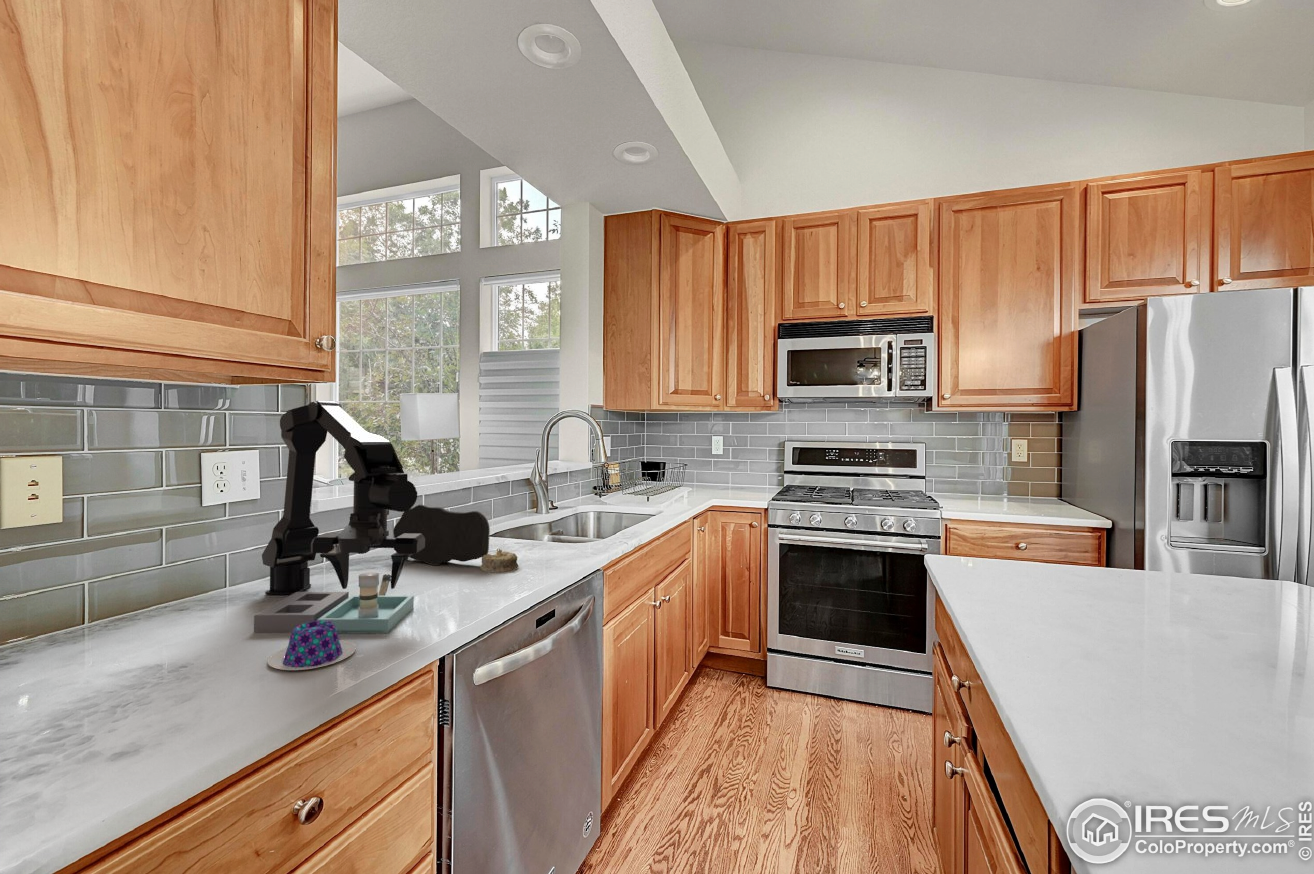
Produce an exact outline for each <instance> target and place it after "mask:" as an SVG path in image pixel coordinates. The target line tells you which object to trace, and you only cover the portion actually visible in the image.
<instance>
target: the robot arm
mask: <svg viewBox="0 0 1314 874" xmlns="http://www.w3.org/2000/svg"><path fill="white" fill-rule="evenodd" d="M279 427H280V428H279V429H280V432H281V433H280V435H281V439H282V441H283V443H284V444H285V445H286V447H287V449H288V461H287V471H286V472H287V473H286V482H285V491H284V504H283V513H282V514H283V515H282V517H281V518H280V520H279V521H278V522H277V524H276V525H274V527H273V529H272V533H271V534H272V535H271V539H270V540H269V542H268V543H267V545H266V547H265V548H264V550H263V552H262V554H261V558H262V565H264V566H267V567H269V589H268V590H266V591H265V592H264V593H265V595H291V594H293V593H295V592H304V591H305V590H307V589H309V588H310V587H312V583H311V581H310V580H311V579H310V578H311V577H310V576H311V575H310V574H311V568H310V567H309V566H308V565H309V562H310V561H315V559H316V555H317V554H319V557H320V558H321V559H322V558H323V559H326V560H328V561H329V562H330V564H331V565H332V567H333V569H334V571H335V574H336V575H337V577H338V578H337V579H338V581H339V584H340V585H341V586H340V587H341V588H342V590H346V589H347V588H348V586H349V585H348V583H349V576H350V575H349V572H350V567H349V565H350V554H359V555H364V554H367V553H369V552H370V550H371V549H393V550H394V551H395V552H394V553H393V554H392V555H390V559H391V562H392V565H391V573H390V575H391V578H390V589H392V590H393V589H395V588H396V586H397V583H398V580H399V578H400V577H401V573H402V572H403V569H404V567H405V565H406V563H407V561H408V559H409V558H410V556H411V555H412V554H414V553H417V552H419V551H420V550H422V549H423V548H424V547H425V537H424V536H423V535H422V534H414V533H404V534H402V535H400V536H398V537H397V538H394V537H389V535H390V530H388V528H387V527H388V516H389V515H390V511H395V512H399V513H400V512H401V513H404V511H407V510H409V509H410V508H413V507H414V505H415V504H416V502H417V500H418V491H417V489H416V486H415V485H414V483H412V482H411V481H409V480H408V473H405V472H404V470H403V469H404V466H403V464H402V462H401V461H400V460H399V457H398V455H397V452H396V449H395V447H394V445H393V443H391V442H390V440H388V439H386V438H385V437H383V436H382V435H378V434H375V433H371V432H368V431H367V430H366V429H364V427H363V426H361V425H360V424H359V423H358V422H357V421H356V420H354V419H353V418H352V416H350V415H349V414H348V413H347V412H346V411H345V410H344V409H343V408H342V405H341V404H340V403H339V402H337V401H327V400H315V401H311V402H309V403H308V404H306V405H302V406H299V407H295V408H294V407H293V408H292V409H288V410H287V411H286V412H285V413H283V414H282V415H280V419H279ZM328 434H330V435H331V436H332V438H334V439H335V440H336V442H338V443H339V444H340V445H341V447H342V448H343V449H344V453H343V458H344V459H345V461H346V462H347V464H348V465H349V467H350V468H351V469H352V470H353V471H354V472H353V473H352V474H350V475H349V477H348V481H350V482H353V502H352V503H353V504H352V505H353V508H352V509H353V510H352V511H353V512H352V513H350V516H349V522H348V525H347V526H345V527H344V529H342V531H341V532H325V533H322V534H320V535H319V531H320V530H319V528H318V526H315V524H314V522H313V521H312V519H311V506H312V497H313V496H312V495H313V487H314V477H315V476H314V475H315V467H316V465H315V464H316V454H317V452H318V450H319V449H320V448H321V447H322V446H323V445H324V443H325V442H326V441H327V435H328Z"/></svg>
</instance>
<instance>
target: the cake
mask: <svg viewBox="0 0 1314 874" xmlns="http://www.w3.org/2000/svg"><path fill="white" fill-rule="evenodd" d="M517 561H518V556H517V555H516V553H513V552H509V551H506V550H505V551H503V550H502V549H500V548H497V549H496V553H495V554H490V553H488V554H487V555H483V557H481V565H480V566H479V567H478V568H479V570H482V571H484V572H487V573H488V572H489V573H501V572H503V573H504V572H511V571H514V570H516V568H517V569H519V564H518V562H517Z"/></svg>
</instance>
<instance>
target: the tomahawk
mask: <svg viewBox="0 0 1314 874" xmlns="http://www.w3.org/2000/svg"><path fill="white" fill-rule="evenodd" d="M390 581H391V574H389V573H388V574H385V573H384V574H383V575H382V579H381V584H380V588H379V590H378V591H379V592H378V596H386V593H387V590H388V587H389V584H390Z"/></svg>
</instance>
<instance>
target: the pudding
mask: <svg viewBox="0 0 1314 874" xmlns="http://www.w3.org/2000/svg"><path fill="white" fill-rule="evenodd" d="M290 633H291V634H290V637H289V641H288V643H287V644H288V645H287V647H285V648H283V649H280V650H278V651H276V652H275V653H273V654H272V655H271V656H270V657H269V658H268V659H267V664H268V665H269V666H270V667H271V668H274V669H276V670H277V669H278V670H283V671H302V670H311V669H318V668H321V667H326V666H329V665H332V664H336V663H338V662H340V661H343V660H345V659H347V658H348V657H350V656H352V655H353V654H354V653H355V651H356V649H357V646H356V645H355V643H353V642H350V641H347V640H343V639H342V640H341V639H340V638H339V637H340V636H339V634H338V633H337V630H336V627H335V625H334V624H333V623H331V622H330V621H314V622H307V623H303V624H302V625H299V626H296V627H295V628H294V629H293V631H292V632H290ZM284 656H285V658H284ZM284 665H285V666H284ZM290 666H291V668H289V667H290ZM304 666H305V667H304ZM310 666H311V667H310ZM294 667H295V668H294ZM297 667H301V668H297Z"/></svg>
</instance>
